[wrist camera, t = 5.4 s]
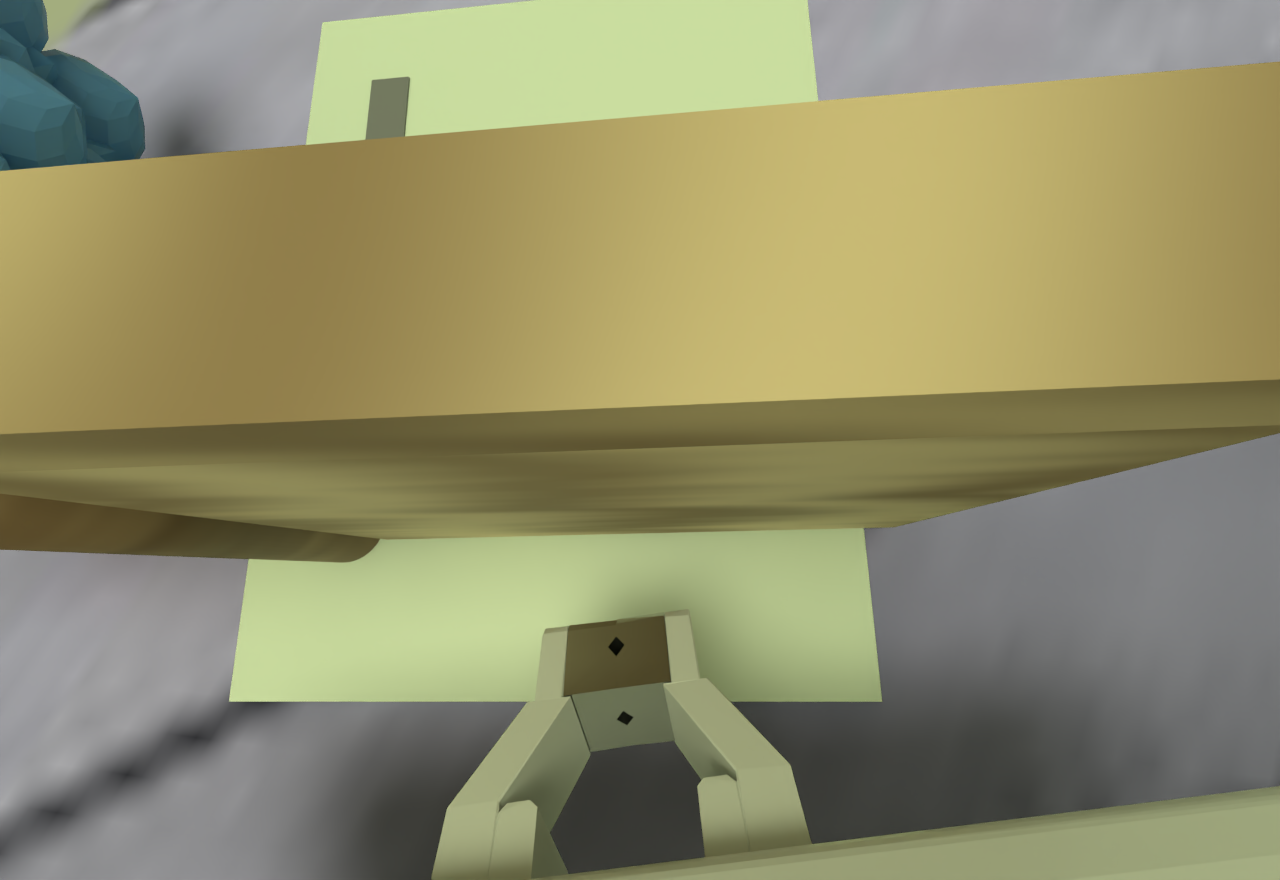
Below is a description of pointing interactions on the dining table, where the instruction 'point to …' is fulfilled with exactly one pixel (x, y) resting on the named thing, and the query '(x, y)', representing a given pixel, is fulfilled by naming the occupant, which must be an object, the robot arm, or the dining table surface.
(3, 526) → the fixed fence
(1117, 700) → the dining table surface
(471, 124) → the board
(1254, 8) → the dining table surface
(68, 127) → the grapes
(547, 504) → the gate panel
